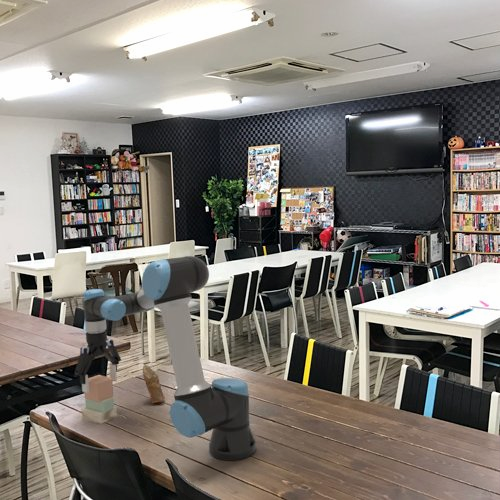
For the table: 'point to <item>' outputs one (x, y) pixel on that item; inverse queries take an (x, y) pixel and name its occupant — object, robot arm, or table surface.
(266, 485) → the table surface
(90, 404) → the block top
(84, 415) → the block base
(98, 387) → the terracotta block
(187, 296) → the robot arm
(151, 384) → the figurine
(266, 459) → the table surface
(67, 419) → the table surface
